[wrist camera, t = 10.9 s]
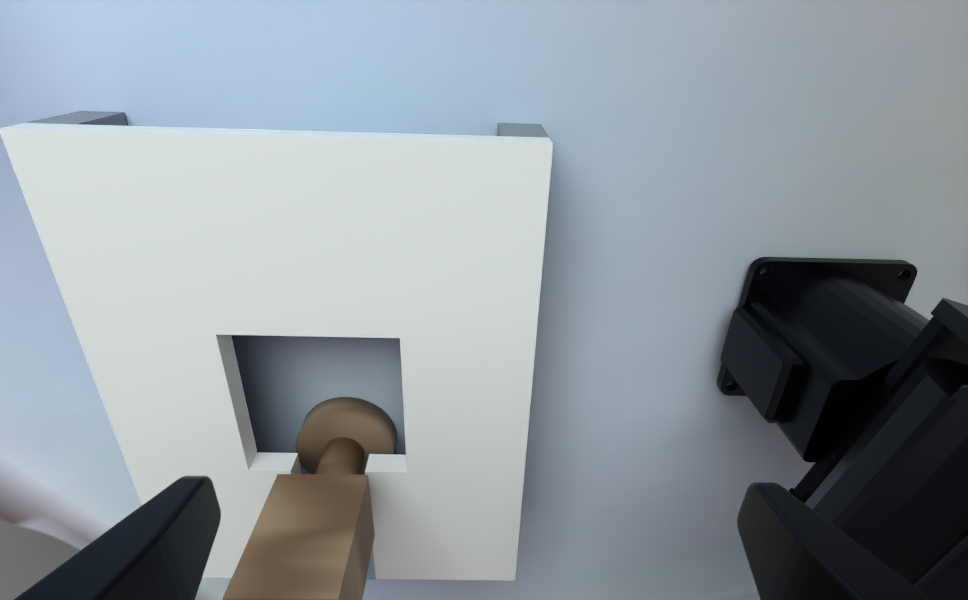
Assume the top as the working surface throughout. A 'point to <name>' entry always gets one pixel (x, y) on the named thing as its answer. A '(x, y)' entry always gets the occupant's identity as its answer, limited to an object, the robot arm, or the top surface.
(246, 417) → the keyhole plate
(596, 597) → the top surface
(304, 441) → the T-peg
